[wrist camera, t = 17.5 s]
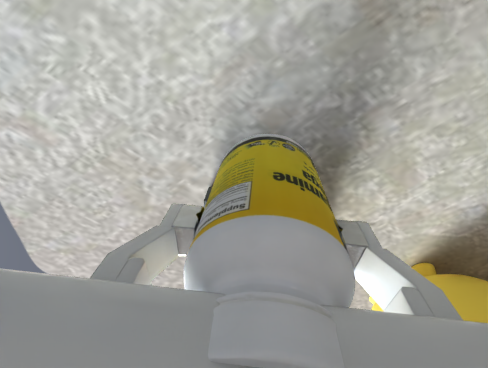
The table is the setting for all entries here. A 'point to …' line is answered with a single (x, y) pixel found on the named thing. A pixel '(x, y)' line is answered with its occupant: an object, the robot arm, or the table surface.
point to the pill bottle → (271, 259)
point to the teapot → (457, 292)
